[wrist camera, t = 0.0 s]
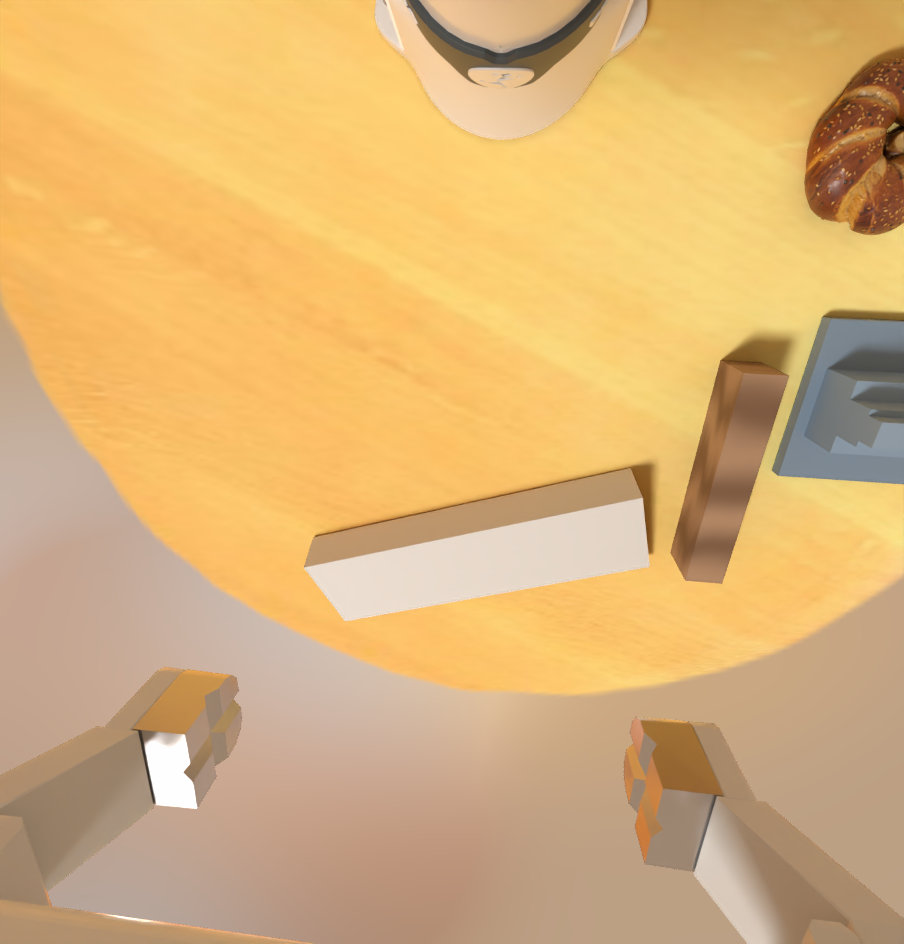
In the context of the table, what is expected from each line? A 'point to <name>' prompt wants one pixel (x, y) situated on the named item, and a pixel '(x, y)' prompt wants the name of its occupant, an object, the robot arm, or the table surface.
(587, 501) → the beige long block
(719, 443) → the walnut bar
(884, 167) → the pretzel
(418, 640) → the table surface
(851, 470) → the gray stepped block
